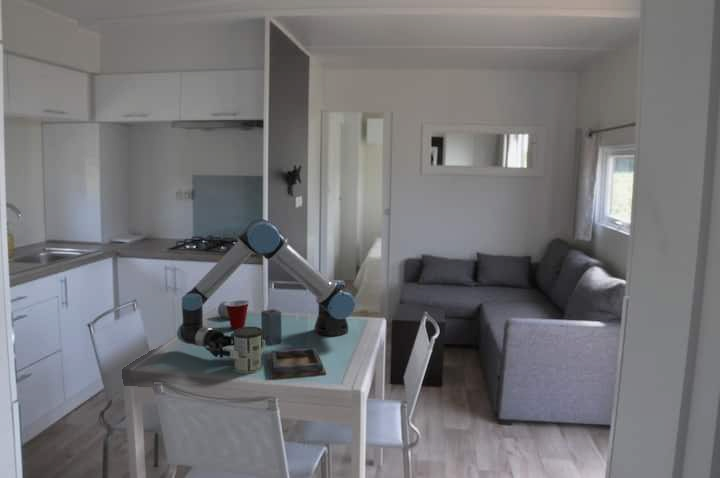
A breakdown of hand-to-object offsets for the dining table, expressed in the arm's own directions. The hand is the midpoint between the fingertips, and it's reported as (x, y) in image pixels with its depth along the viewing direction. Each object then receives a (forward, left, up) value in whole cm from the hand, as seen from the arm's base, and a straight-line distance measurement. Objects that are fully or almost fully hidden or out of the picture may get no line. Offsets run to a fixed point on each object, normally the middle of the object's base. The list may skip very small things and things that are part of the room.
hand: (251, 349), depth 189 cm
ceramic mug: (+8, -69, -8) cm, 70 cm away
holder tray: (-16, +1, -7) cm, 18 cm away
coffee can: (+1, -1, -8) cm, 8 cm away
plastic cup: (+5, -51, -8) cm, 52 cm away
